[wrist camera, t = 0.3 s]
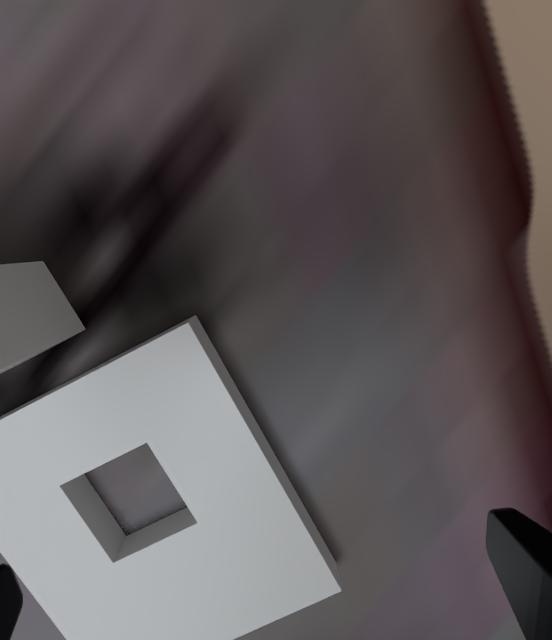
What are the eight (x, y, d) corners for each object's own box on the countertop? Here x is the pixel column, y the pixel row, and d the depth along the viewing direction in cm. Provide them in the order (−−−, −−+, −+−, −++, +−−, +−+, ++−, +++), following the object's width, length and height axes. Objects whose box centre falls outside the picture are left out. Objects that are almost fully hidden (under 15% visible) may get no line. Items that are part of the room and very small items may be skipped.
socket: (336, 562, 24) (341, 591, 22) (121, 659, 25) (108, 694, 23) (195, 315, 21) (188, 322, 19) (-42, 438, 22) (-72, 457, 20)
